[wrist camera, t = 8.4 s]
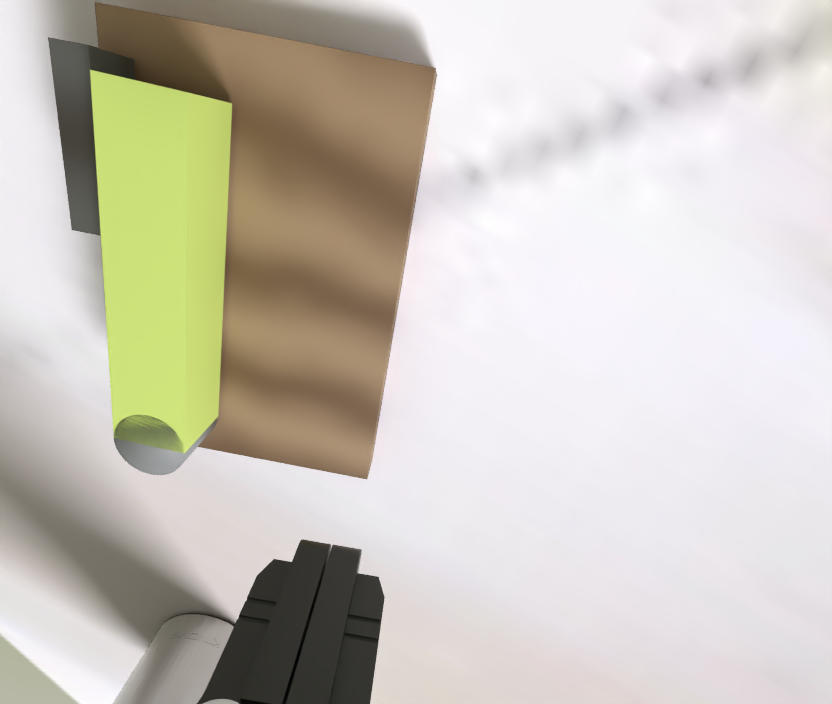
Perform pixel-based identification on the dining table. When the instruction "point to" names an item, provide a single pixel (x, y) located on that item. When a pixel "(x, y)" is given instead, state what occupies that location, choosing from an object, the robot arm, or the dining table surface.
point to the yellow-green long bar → (162, 262)
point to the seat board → (282, 218)
